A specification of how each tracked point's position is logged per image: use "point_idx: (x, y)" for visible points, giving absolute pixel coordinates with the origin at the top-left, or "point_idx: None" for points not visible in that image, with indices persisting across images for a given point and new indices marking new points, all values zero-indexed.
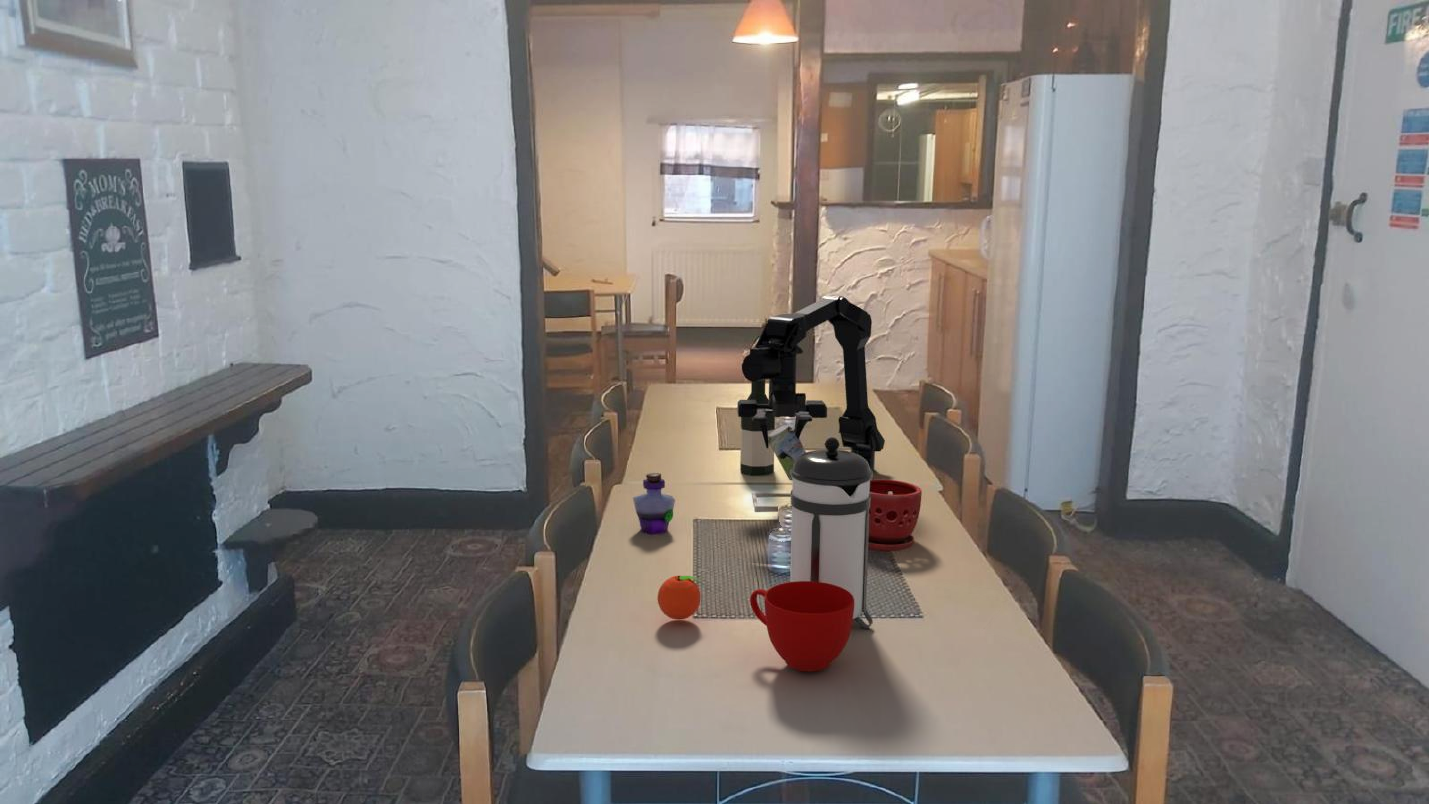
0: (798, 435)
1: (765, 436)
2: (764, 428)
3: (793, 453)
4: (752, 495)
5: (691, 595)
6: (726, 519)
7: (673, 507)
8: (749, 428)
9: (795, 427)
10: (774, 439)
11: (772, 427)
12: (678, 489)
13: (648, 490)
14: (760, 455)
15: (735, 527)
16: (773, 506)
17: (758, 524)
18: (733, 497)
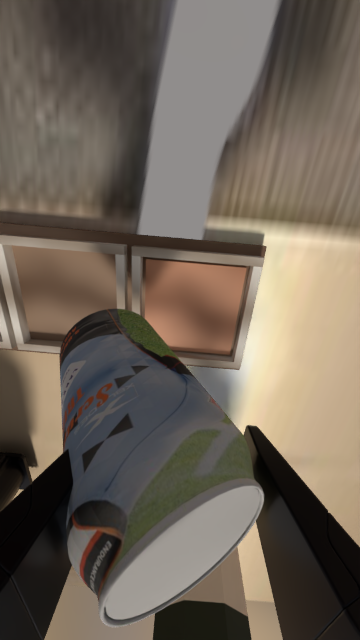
0: (49, 478)
1: (298, 490)
2: (350, 579)
3: (123, 359)
4: (243, 352)
5: None
6: (335, 232)
7: None
8: (231, 618)
9: (47, 578)
10: (235, 450)
11: (161, 618)
12: (354, 438)
13: None
14: None
15: (339, 151)
16: (213, 257)
17: (266, 177)
18: (265, 387)
